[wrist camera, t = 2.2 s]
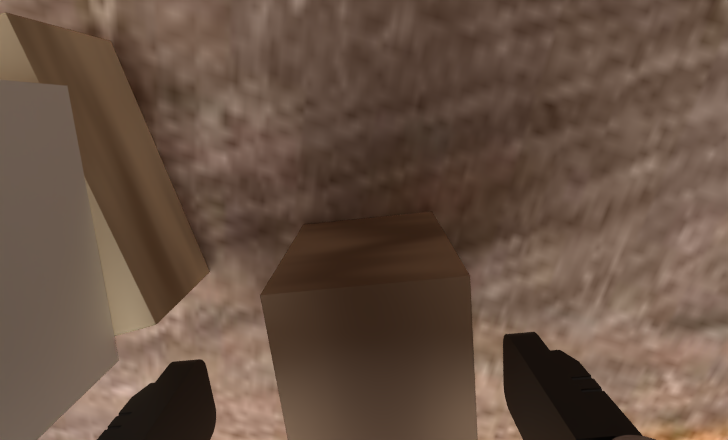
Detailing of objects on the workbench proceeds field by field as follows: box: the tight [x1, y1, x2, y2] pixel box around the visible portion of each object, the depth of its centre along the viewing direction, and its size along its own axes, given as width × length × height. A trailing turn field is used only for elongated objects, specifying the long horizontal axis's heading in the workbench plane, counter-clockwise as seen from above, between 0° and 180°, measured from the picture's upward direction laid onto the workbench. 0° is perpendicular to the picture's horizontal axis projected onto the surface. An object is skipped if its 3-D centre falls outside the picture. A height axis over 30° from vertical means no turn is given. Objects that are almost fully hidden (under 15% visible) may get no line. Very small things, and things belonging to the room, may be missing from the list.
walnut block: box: [260, 211, 478, 440], centre depth 15 cm, size 6×6×7 cm
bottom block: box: [0, 12, 210, 336], centre depth 15 cm, size 10×10×5 cm
